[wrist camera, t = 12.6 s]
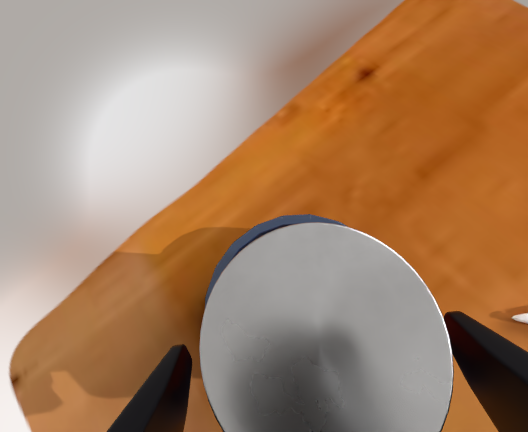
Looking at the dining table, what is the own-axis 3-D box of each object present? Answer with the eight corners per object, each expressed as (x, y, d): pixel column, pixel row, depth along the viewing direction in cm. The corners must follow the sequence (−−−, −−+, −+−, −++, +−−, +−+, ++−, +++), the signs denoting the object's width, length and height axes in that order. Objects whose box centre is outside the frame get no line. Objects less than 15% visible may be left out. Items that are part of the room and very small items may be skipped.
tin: (351, 341, 17) (509, 476, 5) (268, 358, 18) (215, 529, 5) (328, 257, 19) (400, 198, 7) (252, 273, 19) (184, 246, 7)
